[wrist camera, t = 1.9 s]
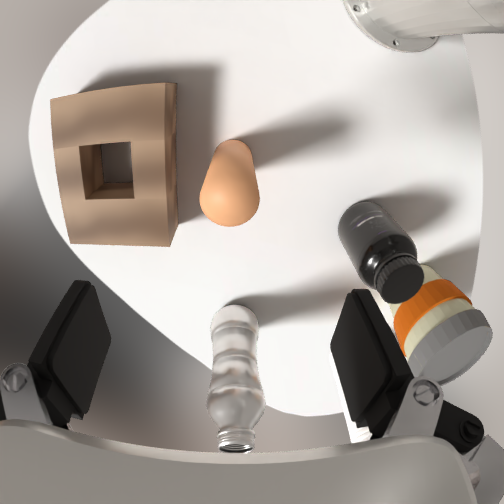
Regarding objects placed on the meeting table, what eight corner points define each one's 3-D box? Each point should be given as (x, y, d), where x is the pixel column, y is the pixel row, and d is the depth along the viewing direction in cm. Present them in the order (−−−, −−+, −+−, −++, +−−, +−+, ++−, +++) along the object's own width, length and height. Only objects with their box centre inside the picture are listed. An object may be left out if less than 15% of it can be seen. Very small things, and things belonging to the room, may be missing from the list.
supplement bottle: (357, 189, 32) (407, 240, 22) (395, 216, 34) (445, 270, 24) (325, 235, 35) (357, 300, 25) (364, 256, 37) (401, 320, 27)
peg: (214, 139, 28) (199, 170, 18) (253, 140, 29) (261, 172, 18) (213, 175, 30) (199, 225, 20) (250, 176, 31) (257, 227, 21)
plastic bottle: (201, 314, 41) (188, 447, 24) (237, 290, 39) (239, 432, 22) (232, 337, 44) (233, 461, 27) (267, 316, 41) (282, 447, 24)
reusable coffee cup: (445, 295, 42) (488, 358, 29) (384, 328, 45) (416, 400, 32) (439, 240, 36) (499, 307, 23) (368, 279, 39) (411, 362, 26)
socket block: (74, 95, 24) (50, 99, 20) (176, 83, 25) (165, 82, 21) (87, 223, 32) (70, 243, 28) (178, 224, 33) (169, 246, 29)
